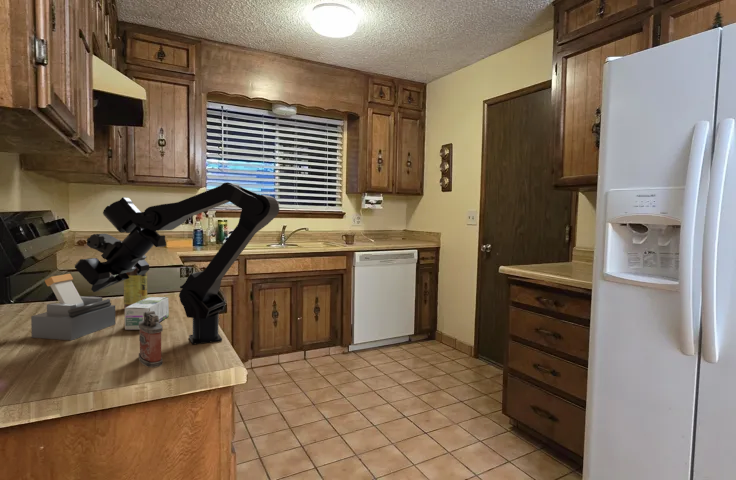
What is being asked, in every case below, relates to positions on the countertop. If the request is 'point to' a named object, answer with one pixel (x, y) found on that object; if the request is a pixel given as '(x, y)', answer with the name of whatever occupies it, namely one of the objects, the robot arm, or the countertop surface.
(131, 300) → the sauce bottle
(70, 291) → the lever
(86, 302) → the block
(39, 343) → the countertop surface
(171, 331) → the countertop surface
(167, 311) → the syrup box
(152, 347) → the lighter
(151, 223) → the robot arm
